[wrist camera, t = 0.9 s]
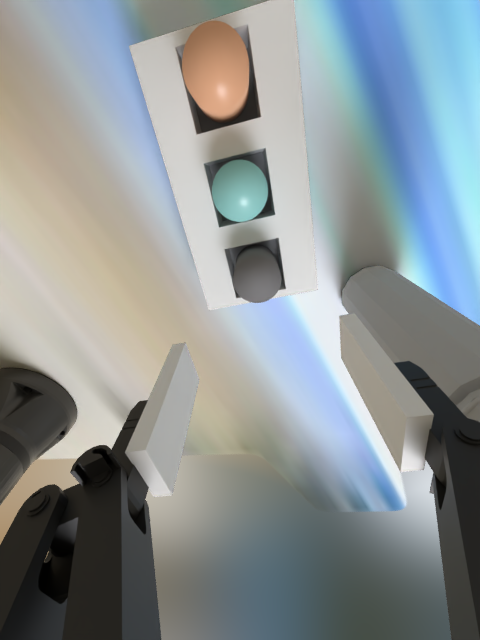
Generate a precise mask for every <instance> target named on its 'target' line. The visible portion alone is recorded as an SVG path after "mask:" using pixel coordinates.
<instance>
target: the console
mask: <svg viewBox="0 0 480 640" xmlns="http://www.w3.org/2000/svg"><path fill="white" fill-rule="evenodd" d="M208 21H221V22H224V23H226V24H228V25H230V26H231V27H232V28H234V29H235V30H236V31H237V33H238V34H239V35H240V37H241V38H242V40H243V42H244V44H245V46H246V50H247V53H248V58H249V94H248V100H247V103H246V106H245V108H244V110H243V111H242V113H241V114H240V115H239V116H238V117H237V118H236V119H234V120H233V121H230V122H227V123H218V122H215V121H213V120H211V119H210V118H208V117H207V116H206V115H205V114H204V113H203V111H202V110H201V108H200V107H199V106H198V104H197V103H196V101H195V100H194V98H193V97H192V95H191V94H190V92H189V90H188V89H187V86H186V84H185V81H184V77H183V71H182V57H183V51H184V47H185V44H186V42H187V40H188V38H189V36H190V34H191V33H192V32H193V31H194V30H195V29H196V28H197V27H198V26H199V25H201V24H203V23H205V22H208ZM129 48H130V51H131V55H132V58H133V61H134V64H135V68H136V71H137V74H138V78H139V81H140V84H141V88H142V91H143V94H144V97H145V101H146V104H147V107H148V111H149V114H150V117H151V121H152V124H153V127H154V130H155V134H156V137H157V140H158V144H159V147H160V150H161V154H162V157H163V160H164V164H165V167H166V170H167V173H168V177H169V180H170V183H171V187H172V190H173V193H174V197H175V200H176V203H177V206H178V210H179V213H180V216H181V220H182V223H183V226H184V230H185V233H186V236H187V240H188V243H189V246H190V249H191V253H192V256H193V259H194V263H195V266H196V269H197V273H198V276H199V279H200V282H201V286H202V289H203V292H204V296H205V299H206V302H207V306H208V309H209V310H213V309H219V308H224V307H229V306H235V305H240V304H245V303H251V302H249V301H246V300H244V299H243V298H241V297H240V296H239V295H238V293H237V292H236V290H235V288H234V284H233V278H234V270H235V263H236V258H237V256H238V254H239V253H240V251H241V250H242V249H244V248H245V247H247V246H249V245H254V244H259V245H263V246H265V247H267V248H269V249H270V250H271V251H272V253H273V254H274V256H275V259H276V262H277V265H278V267H279V270H280V273H281V286H280V288H279V290H278V292H277V293H276V295H275V296H274V297H272V298H278V297H283V296H288V295H294V294H299V293H304V292H310V291H315V290H318V283H317V271H316V259H315V247H314V235H313V223H312V211H311V199H310V187H309V175H308V163H307V151H306V139H305V127H304V115H303V103H302V91H301V79H300V67H299V55H298V43H297V31H296V19H295V7H294V0H269V1H266V2H263V3H260V4H256V5H253V6H250V7H247V8H244V9H241V10H238V11H235V12H232V13H229V14H226V15H223V16H220V17H216V18H213V19H210V20H207V21H204V22H201V23H198V24H195V25H192V26H189V27H186V28H183V29H180V30H176V31H173V32H170V33H167V34H164V35H161V36H158V37H155V38H152V39H149V40H146V41H143V42H140V43H136V44H133V45H130V46H129ZM233 160H246V161H250V162H252V163H253V164H255V165H256V166H257V167H259V168H260V170H261V171H262V172H263V174H264V176H265V178H266V181H267V185H268V196H267V201H266V203H265V206H264V208H263V209H262V211H261V212H260V213H259V214H258V215H257V216H256V217H254V218H253V219H250V220H248V221H244V222H236V221H232V220H229V219H227V218H226V217H224V216H223V215H222V214H221V213H220V212H219V211H218V209H217V208H216V206H215V204H214V201H213V197H212V185H213V181H214V178H215V175H216V174H217V172H218V171H219V169H220V168H221V167H222V166H223V165H225V164H226V163H228V162H230V161H233ZM272 298H271V299H272Z"/></svg>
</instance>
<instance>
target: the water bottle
mask: <svg viewBox="0 0 480 640" xmlns="http://www.w3.org/2000/svg"><path fill="white" fill-rule="evenodd" d="M342 305H343V306H344V308H345V309H346V311H347V312H348V313H349V314H353V313H355V314H356V316H357V317H358V318H359V319H360V321H361V322H362V323H363V325H364V326H365V327H366V328H367V330H368V331H369V332H370V334H371V335H372V336H373V337H374V339H375V340H376V341H377V342H378V344H379V345H380V346H381V348H382V349H383V350H384V351H385V353H386V354H387V355H388V356H389V358H390V359H391V360H392V362H393V363H397V362H404V361H410V362H412V363H414V364H416V365H417V366H419V367H421V368H422V369H423V370H424V371H425V372H426V373H427V374H428V375H429V377H430V379H432V380H433V381H434V382H435V383H436V384H437V387H439V388H440V389H441V390H442V391H443V392H444V393H445V394H446V395H447V396H448V397H449V399H450V400H451V401H452V402H453V403H454V404H455V405H456V406H457V407H458V408H459V410H460V411H461V412H462V413H463V414H464V415H465V416H466V417H467V418H469V419H473V420H476V421H478V422H480V326H479V325H478V324H476V323H474V322H473V321H471V320H470V319H468V318H467V317H465V316H464V315H462V314H461V313H459V312H457V311H456V310H454V309H453V308H451V307H450V306H448V305H447V304H445V303H443V302H442V301H440V300H439V299H437V298H436V297H434V296H433V295H431V294H429V293H428V292H426V291H425V290H423V289H422V288H420V287H419V286H417V285H416V284H414V283H412V282H411V281H409V280H408V279H406V278H405V277H403V276H402V275H400V274H398V273H397V272H395V271H394V270H391V269H389V268H386V267H384V266H381V265H380V266H373V267H366V268H363V269H362V270H360V271H359V272H357V273H356V274H354V275H353V276H351V277H350V279H349V280H348V282H347V284H346V285H345V287H344V288H343V290H342Z"/></svg>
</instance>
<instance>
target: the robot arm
mask: <svg viewBox="0 0 480 640" xmlns="http://www.w3.org/2000/svg"><path fill="white" fill-rule="evenodd" d="M339 317H340V340H341V358H342V360H343V362H344V364H345V366H346V368H347V370H348V372H349V374H350V376H351V378H352V379H353V381H354V383H355V385H356V387H357V389H358V391H359V393H360V395H361V397H362V399H363V401H364V403H365V405H366V407H367V408H368V410H369V412H370V414H371V416H372V418H373V420H374V422H375V424H376V426H377V428H378V430H379V432H380V434H381V435H382V437H383V439H384V441H385V443H386V445H387V447H388V449H389V451H390V453H391V455H392V457H393V459H394V461H395V463H396V464H397V466H398V468H399V470H400V472H408V471H417V470H424V466H425V460H426V461H427V462H428V464H429V465H430V467H431V469H432V470H433V472H434V473H433V478H432V483H431V487H430V493H432V494H434V497H435V505H436V514H437V522H438V531H439V538H440V547H441V556H442V563H443V571H444V572H443V573H444V581H445V589H446V597H447V606H448V614H449V622H450V631H451V639H452V640H480V422H478V421H476V420H473V419H469V418H467V417H466V416H465V415H464V414H463V413H462V412H461V411H460V410H459V408H458V407H457V406H456V405H455V404H454V403H453V402H452V401H451V400H450V399H449V397H448V396H447V395H446V394H445V393H444V392H443V391H442V390H441V389H440V388H439V387H437V384H436V383H435V382H434V381H433V380H432V379H430V377H429V375H428V374H427V373H426V372H425V371H424V370H423V369H422V368H421V367H419V366H417V365H416V364H414V363H412V362H410V361H404V362H397V363H393V362H392V360H391V359H390V358H389V356H388V355H387V354H386V353H385V351H384V350H383V349H382V348H381V346H380V345H379V344H378V342H377V341H376V340H375V339H374V337H373V336H372V335H371V334H370V332H369V331H368V330H367V328H366V327H365V326H364V325H363V323H362V322H361V321H360V319H359V318H358V317H357V316H356V314H355V313H353V314H347V315H341V316H339ZM198 384H199V377H198V375H197V372H196V369H195V367H194V364H193V361H192V358H191V356H190V353H189V350H188V348H187V345H186V342H185V343H179V344H173V345H172V347H171V349H170V352H169V354H168V356H167V358H166V361H165V363H164V365H163V367H162V370H161V372H160V374H159V376H158V379H157V381H156V383H155V386H154V388H153V390H152V392H151V395H150V397H149V399H148V400H146V401H139V402H138V403H137V404H136V406H135V407H134V408H133V409H132V410H131V412H130V414H129V416H128V418H127V420H126V422H125V424H124V426H123V428H122V430H121V432H120V434H119V436H118V438H117V440H116V442H115V444H114V446H113V448H112V450H111V449H110V448H109V447H108V446H106V445H99V446H96V447H93V448H91V449H89V450H88V451H86V452H85V453H84V454H82V455H81V456H80V457H79V458H78V459H77V461H76V462H75V463H74V465H73V467H72V470H71V472H70V473H71V474H72V475H73V476H74V477H75V478H76V479H77V481H78V482H79V483H80V484H77V485H75V486H73V487H70V488H68V489H66V490H64V491H62V490H61V489H60V488H59V487H58V486H57V485H55V484H54V485H47V486H45V487H43V488H40V489H39V490H38V491H36V492H35V493H33V494H32V495H31V496H30V497H29V498H28V499H27V500H26V501H25V502H24V504H23V505H22V507H21V508H20V510H19V512H18V513H17V515H16V517H15V519H14V521H13V523H12V524H11V526H10V528H9V530H8V532H7V534H6V535H5V537H4V539H3V541H2V543H1V545H0V640H161V631H160V622H159V610H158V600H157V591H156V579H155V569H154V559H153V548H152V538H151V528H150V517H149V507H148V504H147V501H146V500H145V498H146V494H147V492H148V489H149V490H150V492H151V493H152V495H153V496H154V497H158V496H168V495H173V490H174V486H175V482H176V477H177V473H178V469H179V465H180V460H181V456H182V452H183V448H184V443H185V439H186V435H187V431H188V426H189V422H190V418H191V414H192V409H193V405H194V401H195V396H196V392H197V388H198ZM76 419H77V409H76V406H75V403H74V401H73V400H72V398H71V397H70V395H69V394H68V393H67V392H66V391H65V390H64V389H63V388H62V387H61V386H59V385H58V384H57V383H55V382H54V381H52V380H51V379H49V378H47V377H45V376H43V375H41V374H38V373H35V372H32V371H29V370H25V369H18V368H4V369H0V505H1V504H2V502H3V501H4V499H5V498H6V497H7V496H8V494H9V493H10V491H11V490H12V489H13V488H14V486H15V485H16V483H17V482H18V481H19V479H20V478H21V477H22V475H23V474H24V473H25V471H26V470H27V468H28V467H29V466H30V465H31V464H32V462H34V461H35V460H36V459H38V458H39V457H40V456H41V455H43V454H44V453H45V452H46V451H48V450H49V449H50V448H51V447H53V446H54V445H55V444H56V443H58V442H59V441H60V440H62V439H63V438H64V437H65V436H66V435H67V434H68V432H69V431H70V429H71V428H72V426H73V425H74V424H75V422H76ZM48 551H49V553H48V556H47V558H46V559H45V557H46V555H47V552H48ZM44 560H45V561H44Z"/></svg>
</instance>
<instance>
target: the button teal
mask: <svg viewBox="0 0 480 640" xmlns="http://www.w3.org/2000/svg"><path fill="white" fill-rule="evenodd" d="M267 196H268V185H267V181H266V178H265V176H264V174H263V172H262V171H261V170H260V168H259V167H257V166H256V165H255V164H253V163H252V162H250V161H246V160H233V161H230V162H228V163H226V164H225V165H223V166H222V167H221V168H220V169H219V171H218V172H217V174H216V175H215V178H214V181H213V185H212V197H213V201H214V204H215V206H216V208H217V209H218V211H219V212H220V213H221V214H222V215H223V216H224V217H226V218H227V219H229V220H232V221H236V222H244V221H248V220H250V219H253V218H254V217H256V216H257V215H258V214H259V213H260V212H261V211H262V209H263V208H264V206H265V203H266V201H267Z"/></svg>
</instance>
